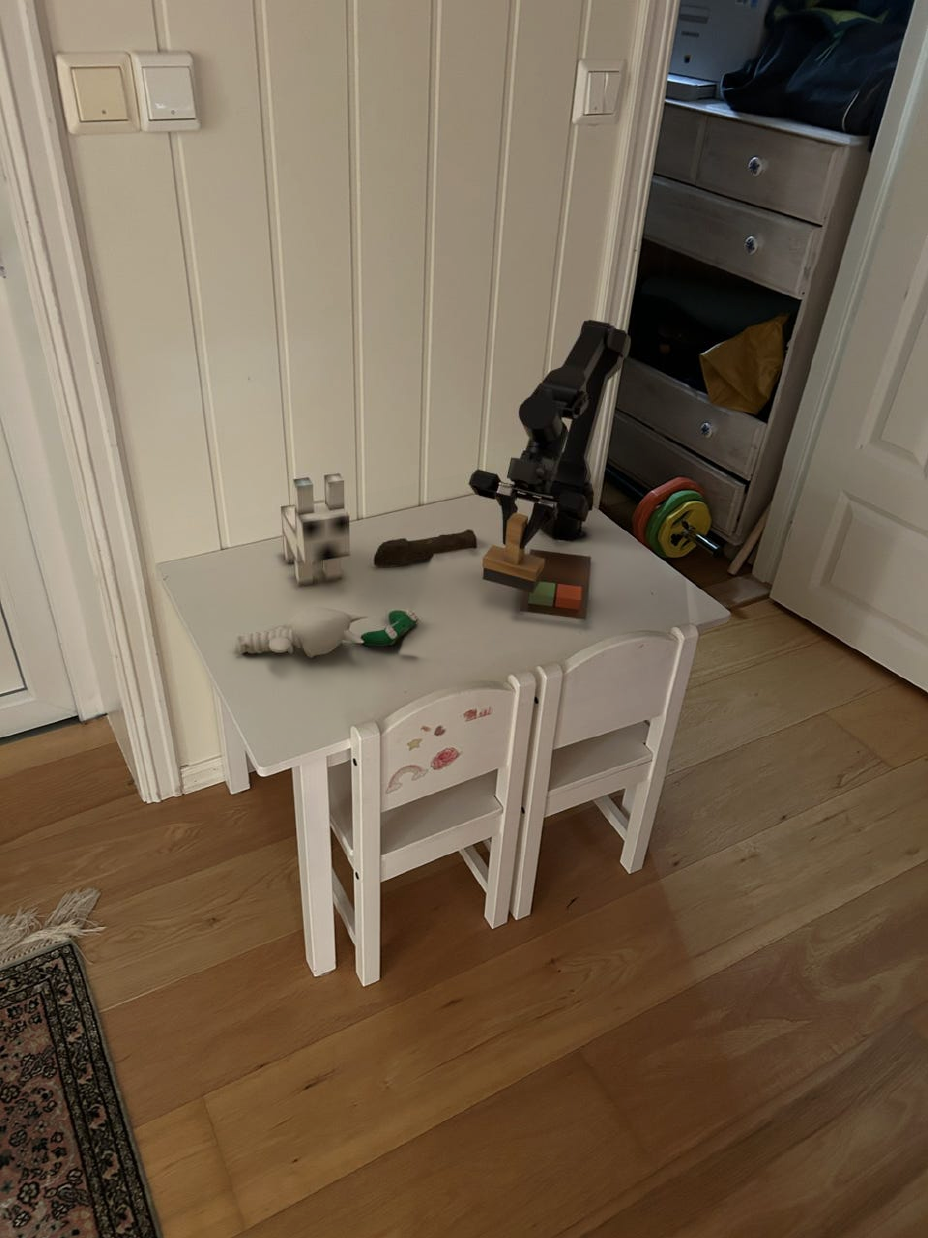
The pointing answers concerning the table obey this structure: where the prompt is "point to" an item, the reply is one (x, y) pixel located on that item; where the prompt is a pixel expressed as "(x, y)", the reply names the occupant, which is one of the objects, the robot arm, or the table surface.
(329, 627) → the toy creature
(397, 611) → the green stocking
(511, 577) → the brush
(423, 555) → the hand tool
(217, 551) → the table surface
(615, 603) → the table surface
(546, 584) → the clay sage
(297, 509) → the white blocky toy rabbit
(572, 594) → the clay terracotta
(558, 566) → the board
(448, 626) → the table surface
